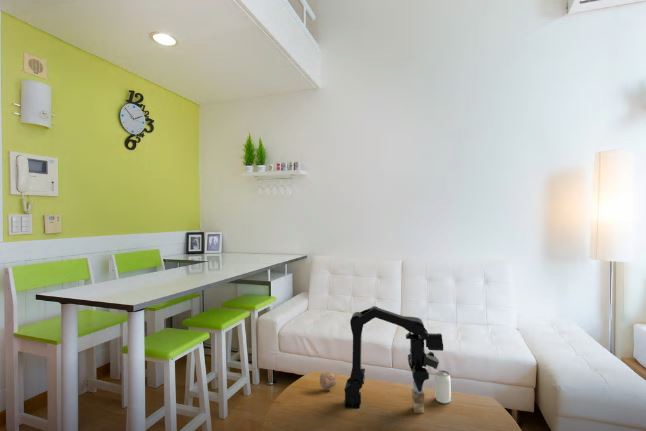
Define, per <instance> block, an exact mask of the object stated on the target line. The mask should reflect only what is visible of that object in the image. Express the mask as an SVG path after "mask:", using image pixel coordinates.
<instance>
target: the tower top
mask: <svg viewBox="0 0 646 431" xmlns="http://www.w3.org/2000/svg"><path fill="white" fill-rule="evenodd" d="M411 394H412V401H413V400H414V402H415V403H424V404H425V393H424V391H423V393H421V394H418V393H415V392H414V391H413V388H412V389H411Z"/></svg>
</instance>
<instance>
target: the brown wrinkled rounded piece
mask: <svg viewBox="0 0 646 431" xmlns="http://www.w3.org/2000/svg"><path fill="white" fill-rule="evenodd" d="M336 384H337V380H336V377H335V375H334V373H332V372H330V371H324V372H322V373H321V374H320V376H319V385H320V387H321V389H323V390H329V391H330V390H331V389H332V388H334V387H336Z"/></svg>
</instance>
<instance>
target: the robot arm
mask: <svg viewBox="0 0 646 431" xmlns="http://www.w3.org/2000/svg"><path fill="white" fill-rule="evenodd" d="M374 319H377V320H378V319H379V320H381V321H385V322H387V323H389V324H393V325H395V326H398V327H402V328H403V329H405V330H406V331H408V333H406V334H405V339H406V340H409V345H410V347H409V354H407V361H408V362H407V363H408V366H409V368H410V371H411V373H412V374H411V376H412V378H413V380H414V382H415V384H416V387H417V389H418V391H419V392H421V390H422V386H423V387H424V382H425V381H427V380H430V373H429V371H428V369H427V367H431V368H433V369H434V370H437V369H438V366H439V363H440V361H439V359H438V358H437V357H436V356H435V354H434V352H433V351H438V352H443V351H444V342H443V334H442V333H439V332H438V333H429V331H428V330H427V329H426V327H425V325H424V321H423V320H422V319H421V318H419V317H415V316H404V315H402V314H401V315H400V314H398V313H394V312H393V311H392V312H391V311H390V310H386V309H382V308H380V307H378V306H376V305H375V306H374V305H373V306H371V307H369V308H366V309H365V310H361V311H356V312H354V313H353V314H352V316H351V318H350V322H349V324H350V330H351V333H352V360H351V362H352V367H351V371H350V377H349V378H347V380H346V382H345V387H344V390H343V391H344V408H351V409H353V408H354V409H359V408H360V407H361V404H362V394H361V393H362V392H361V391H360V389H362V388H363V385H365V381H366V375H365V372H366V368H363V366H362V342H363V341H362V336H363V328H364V325H366V324H367V323H369V322H371V321H372V320H374ZM425 348H427V350H428V351H429V352H428V353H426V352H425Z"/></svg>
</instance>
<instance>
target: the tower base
mask: <svg viewBox="0 0 646 431" xmlns="http://www.w3.org/2000/svg"><path fill="white" fill-rule="evenodd" d="M412 407H413V413H415V414H416V413H417V414H419V413H420V414H425V403H415V402H414V400H413V399H412Z"/></svg>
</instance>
